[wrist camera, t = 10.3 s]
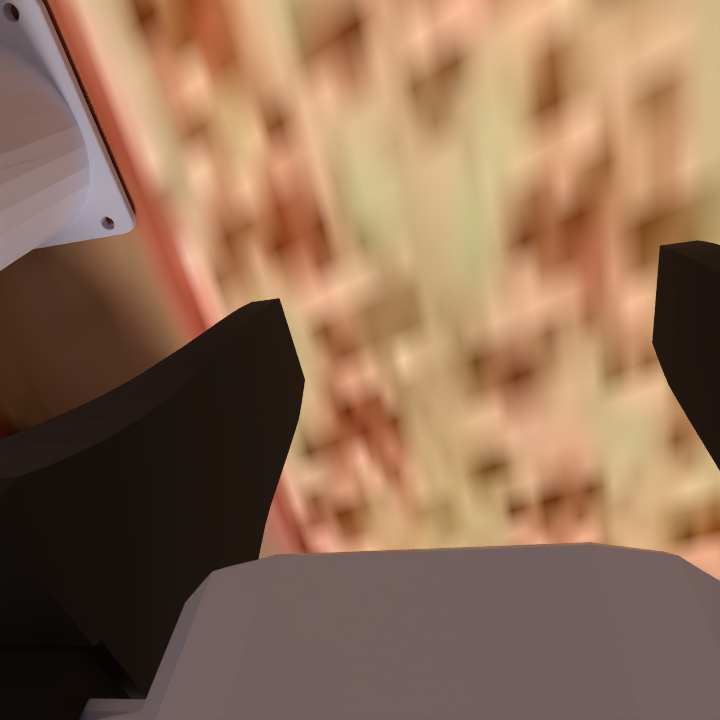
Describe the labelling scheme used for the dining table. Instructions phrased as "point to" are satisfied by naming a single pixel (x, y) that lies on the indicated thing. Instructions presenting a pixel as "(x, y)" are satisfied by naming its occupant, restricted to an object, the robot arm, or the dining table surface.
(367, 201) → the dining table surface
